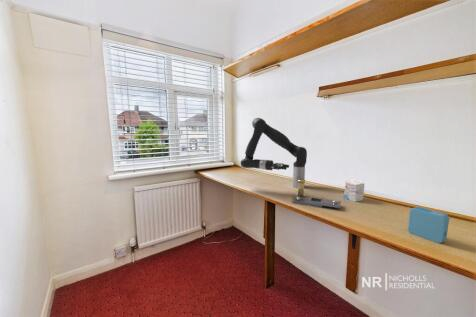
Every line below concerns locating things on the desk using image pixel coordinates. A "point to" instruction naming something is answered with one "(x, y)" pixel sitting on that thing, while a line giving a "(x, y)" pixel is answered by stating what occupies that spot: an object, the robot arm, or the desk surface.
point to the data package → (428, 224)
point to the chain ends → (317, 202)
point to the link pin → (301, 187)
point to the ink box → (354, 190)
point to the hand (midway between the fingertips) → (287, 167)
